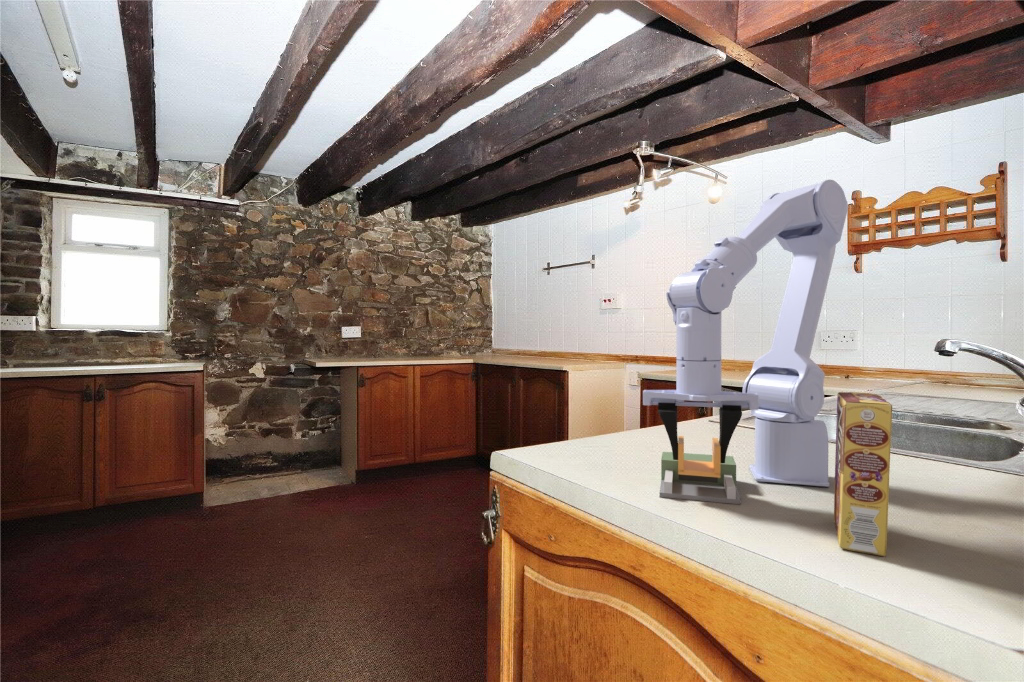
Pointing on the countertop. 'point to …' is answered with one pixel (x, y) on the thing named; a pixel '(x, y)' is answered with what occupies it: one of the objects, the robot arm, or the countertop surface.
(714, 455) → the chute
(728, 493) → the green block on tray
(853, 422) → the candy box
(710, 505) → the countertop surface
